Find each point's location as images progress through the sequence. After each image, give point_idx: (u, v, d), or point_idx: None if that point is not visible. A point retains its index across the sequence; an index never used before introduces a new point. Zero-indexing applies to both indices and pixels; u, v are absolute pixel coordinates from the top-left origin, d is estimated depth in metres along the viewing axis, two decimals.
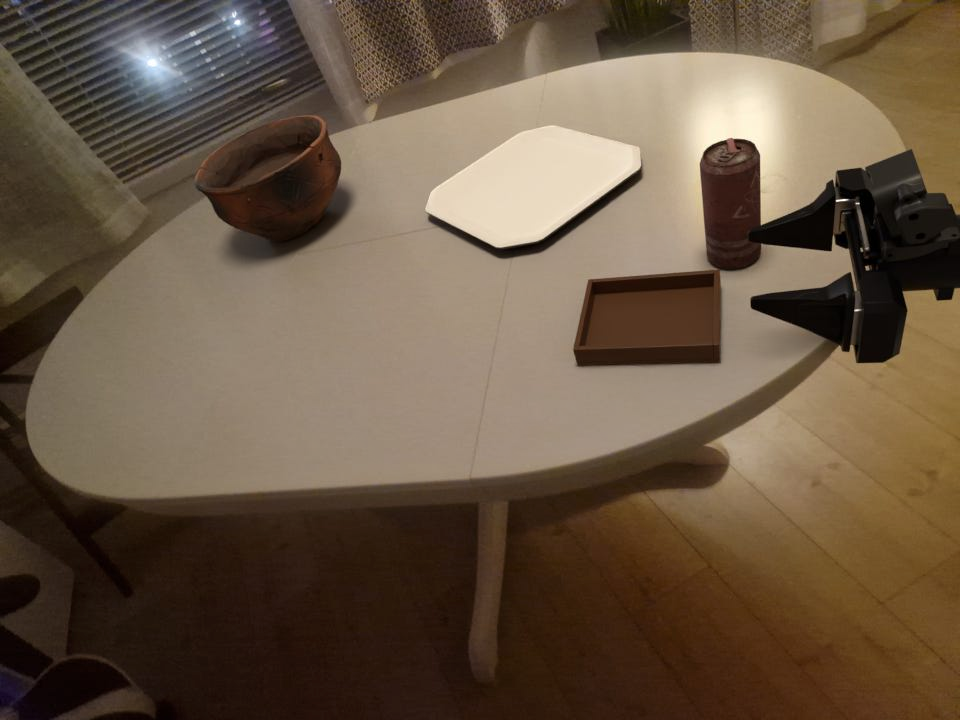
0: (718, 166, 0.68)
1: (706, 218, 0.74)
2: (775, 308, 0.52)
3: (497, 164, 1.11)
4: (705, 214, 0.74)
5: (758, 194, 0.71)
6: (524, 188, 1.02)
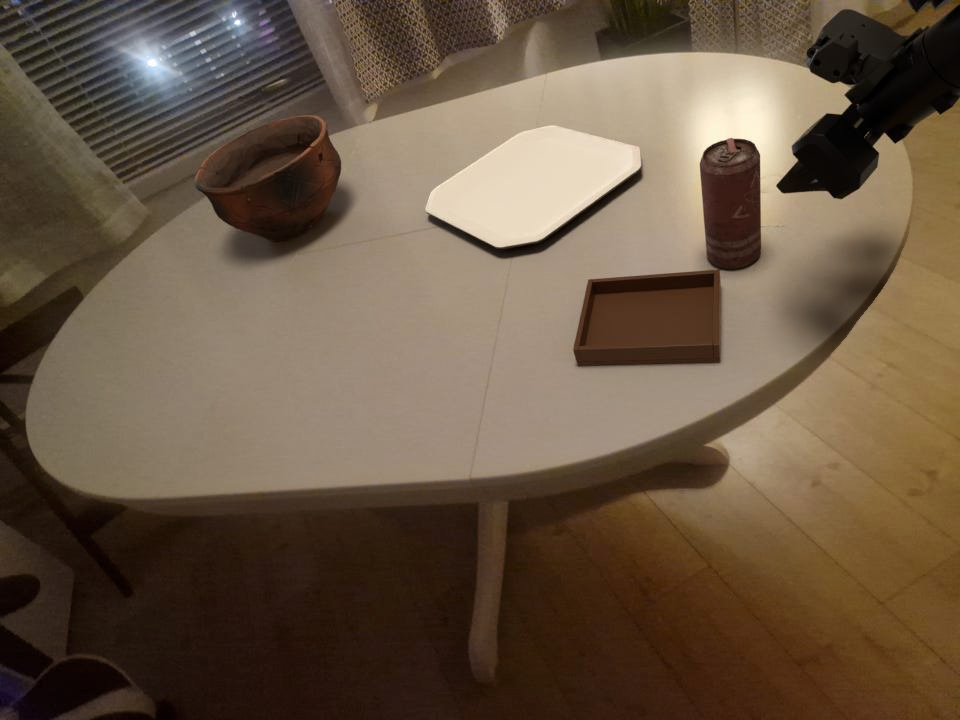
0: (718, 166, 0.68)
1: (706, 218, 0.74)
2: (790, 184, 0.61)
3: (497, 164, 1.11)
4: (705, 214, 0.74)
5: (758, 194, 0.71)
6: (523, 188, 1.02)
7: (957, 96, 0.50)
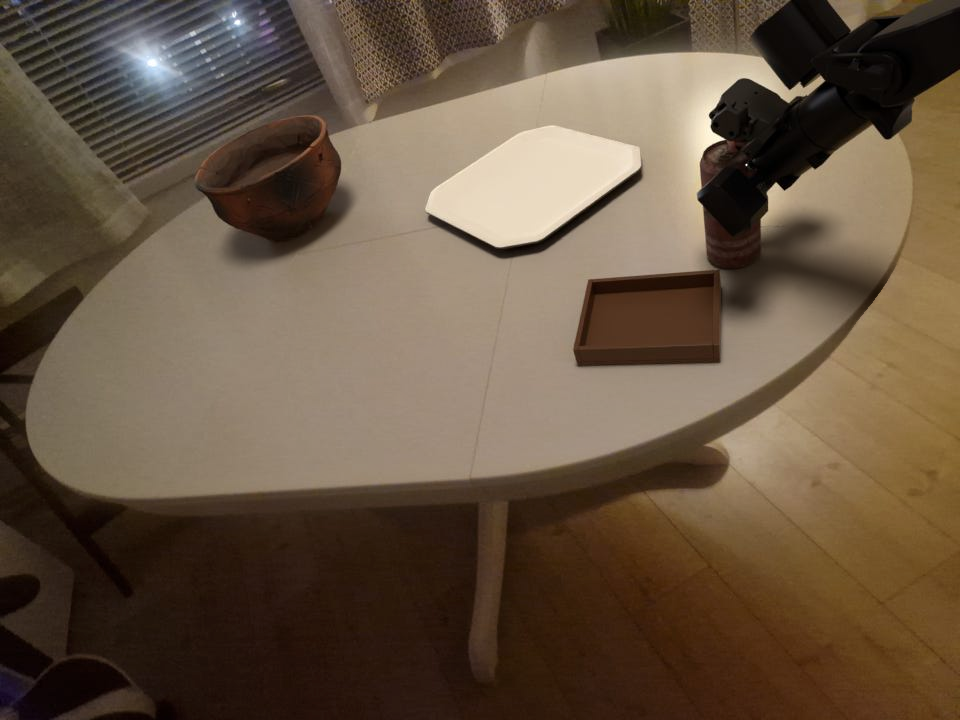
0: (718, 166, 0.68)
1: (706, 218, 0.75)
2: None
3: (497, 164, 1.11)
4: None
5: None
6: (523, 188, 1.02)
7: (828, 155, 0.61)
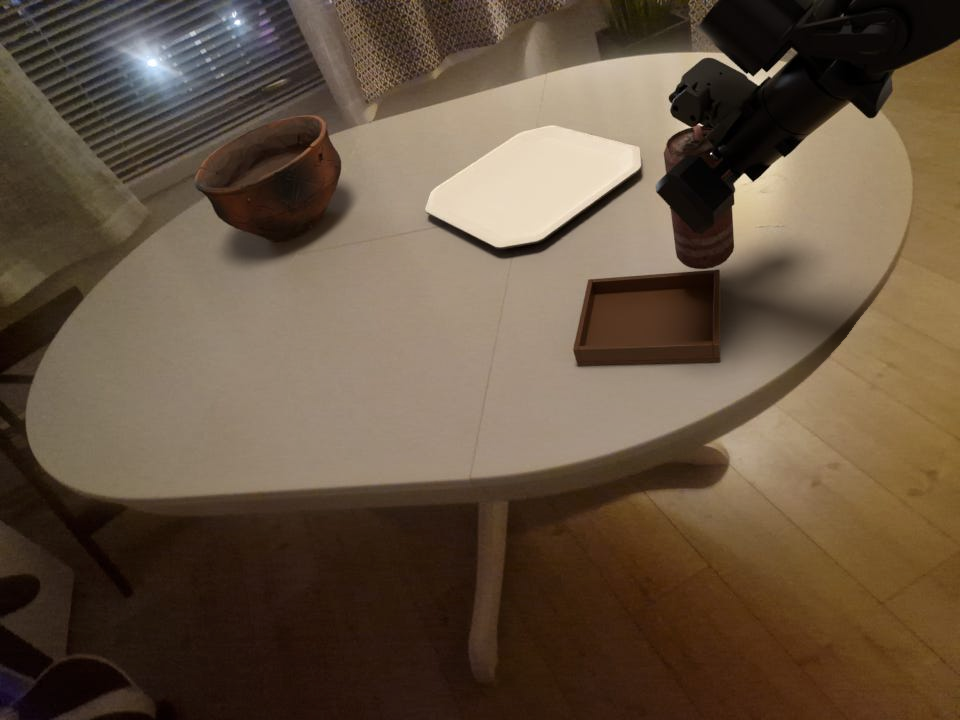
0: (682, 155, 0.62)
1: (673, 213, 0.68)
2: None
3: (497, 164, 1.11)
4: None
5: None
6: (523, 188, 1.02)
7: (798, 141, 0.55)
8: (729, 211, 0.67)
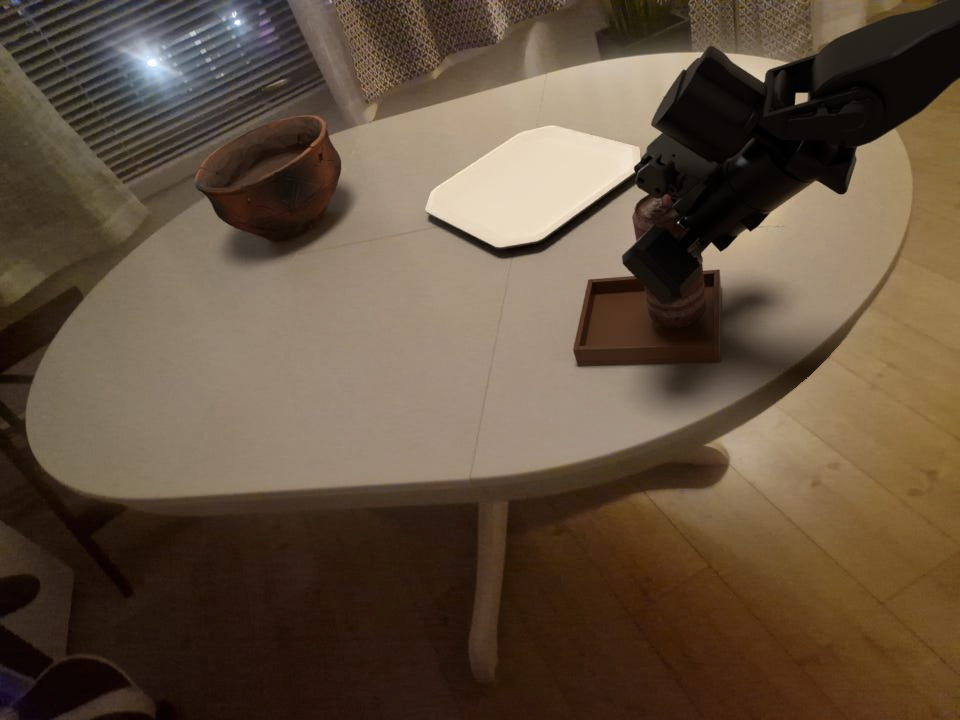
0: (650, 222, 0.61)
1: None
2: None
3: (497, 164, 1.11)
4: None
5: None
6: (523, 188, 1.02)
7: (764, 215, 0.54)
8: None
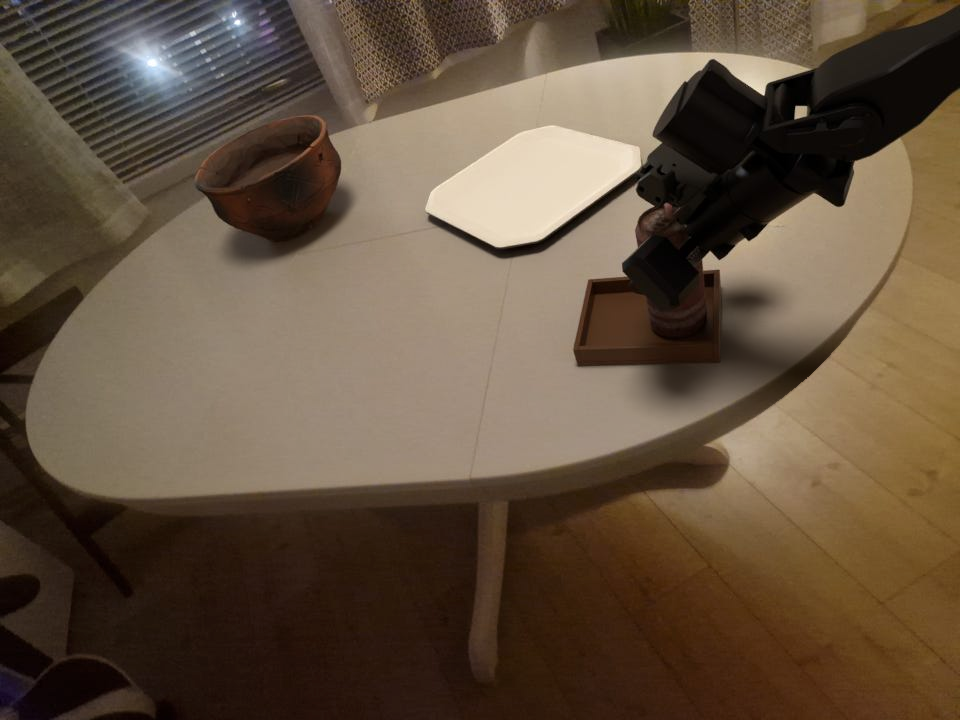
0: None
1: None
2: (638, 287, 0.65)
3: (497, 164, 1.11)
4: None
5: (699, 263, 0.65)
6: (523, 188, 1.02)
7: (762, 226, 0.55)
8: (701, 285, 0.67)
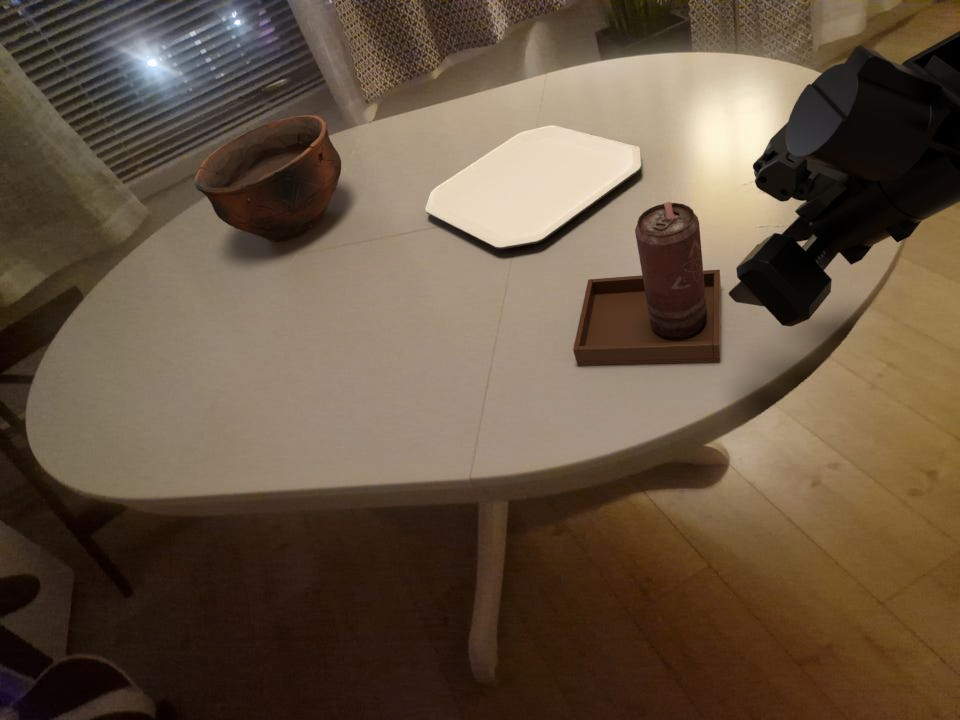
0: (652, 235, 0.62)
1: (645, 286, 0.68)
2: (742, 295, 0.56)
3: (497, 164, 1.11)
4: (644, 282, 0.68)
5: (699, 263, 0.65)
6: (523, 188, 1.02)
7: (915, 223, 0.45)
8: (701, 285, 0.67)
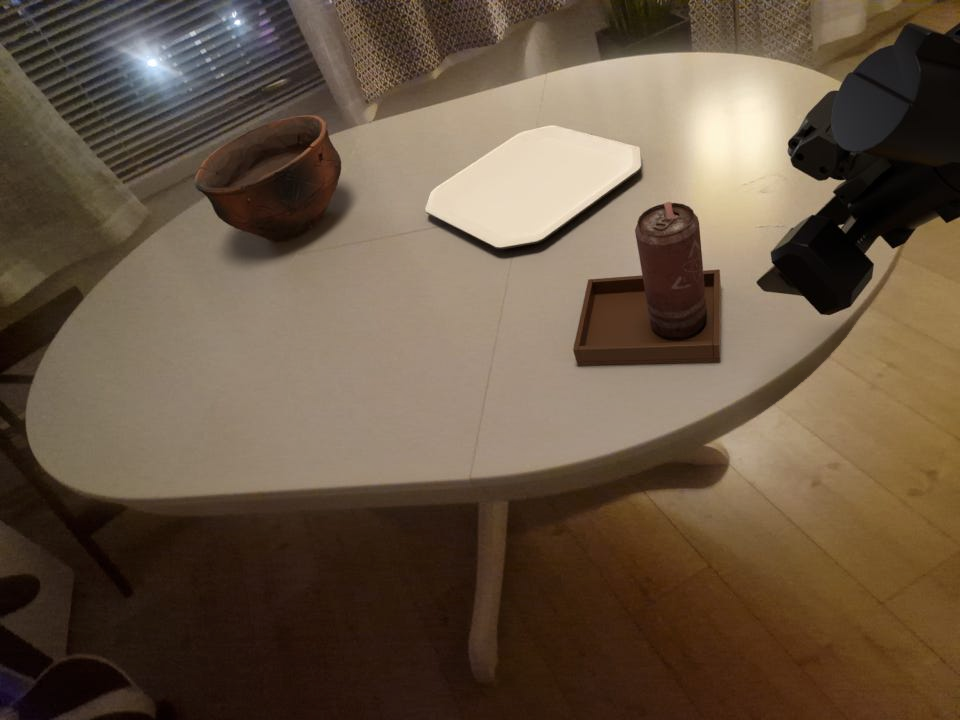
0: (652, 235, 0.62)
1: (645, 286, 0.68)
2: (772, 284, 0.53)
3: (497, 164, 1.11)
4: (644, 282, 0.68)
5: (699, 263, 0.65)
6: (523, 188, 1.02)
7: None
8: (701, 285, 0.67)
